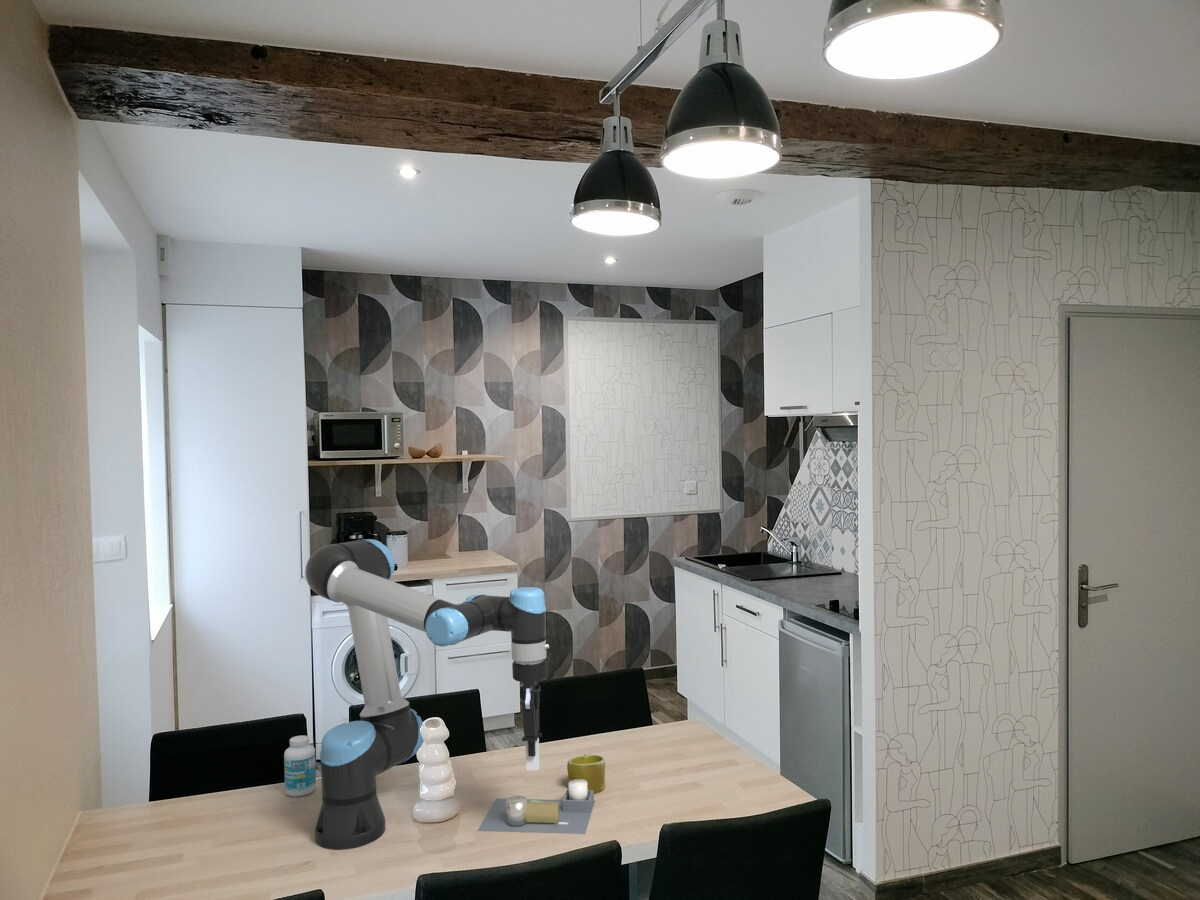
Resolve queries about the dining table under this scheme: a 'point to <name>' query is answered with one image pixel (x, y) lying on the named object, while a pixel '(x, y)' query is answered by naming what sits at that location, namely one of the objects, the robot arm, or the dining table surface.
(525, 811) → the grey and tan piece
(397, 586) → the robot arm
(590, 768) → the mug
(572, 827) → the board
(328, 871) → the dining table surface
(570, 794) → the button
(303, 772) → the pill bottle
